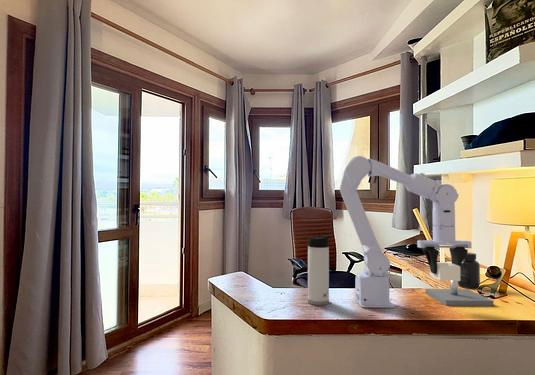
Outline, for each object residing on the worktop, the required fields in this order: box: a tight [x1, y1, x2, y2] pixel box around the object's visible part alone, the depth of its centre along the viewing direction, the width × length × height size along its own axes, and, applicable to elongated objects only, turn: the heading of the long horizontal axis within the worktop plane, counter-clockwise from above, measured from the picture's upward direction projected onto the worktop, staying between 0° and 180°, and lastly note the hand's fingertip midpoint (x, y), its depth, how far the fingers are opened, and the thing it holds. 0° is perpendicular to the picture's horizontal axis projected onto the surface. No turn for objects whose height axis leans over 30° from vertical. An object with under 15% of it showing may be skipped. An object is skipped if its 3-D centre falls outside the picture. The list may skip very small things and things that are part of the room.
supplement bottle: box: [458, 252, 481, 290], centre depth 114 cm, size 7×7×12 cm
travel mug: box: [307, 234, 331, 306], centre depth 96 cm, size 6×7×20 cm
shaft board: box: [424, 281, 494, 307], centre depth 99 cm, size 14×12×6 cm
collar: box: [429, 261, 460, 282], centre depth 91 cm, size 6×6×4 cm
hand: (444, 273), depth 91 cm, fingers closed on collar, 6 cm apart
